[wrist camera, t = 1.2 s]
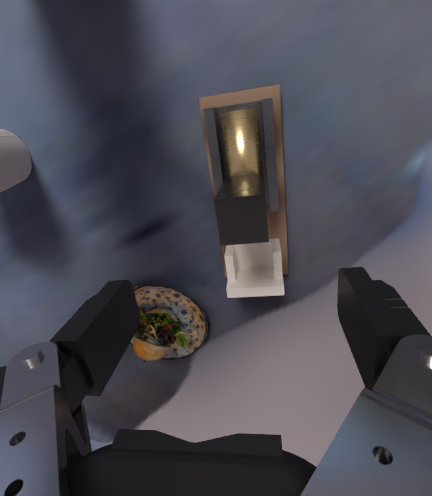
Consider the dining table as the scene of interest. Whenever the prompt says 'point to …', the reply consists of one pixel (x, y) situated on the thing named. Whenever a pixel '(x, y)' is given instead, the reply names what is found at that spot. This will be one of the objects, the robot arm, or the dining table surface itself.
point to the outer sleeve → (266, 146)
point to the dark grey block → (242, 182)
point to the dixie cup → (13, 160)
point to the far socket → (254, 269)
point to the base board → (278, 217)
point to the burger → (167, 324)
